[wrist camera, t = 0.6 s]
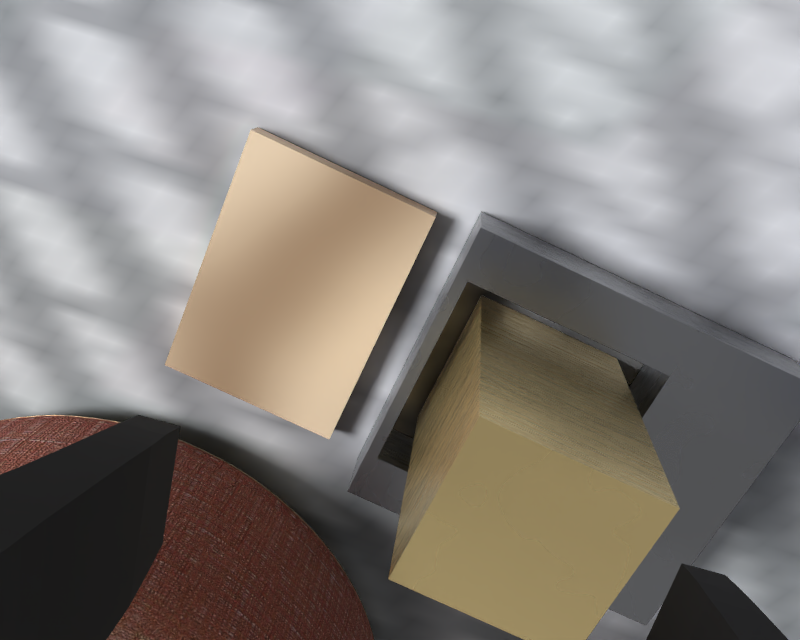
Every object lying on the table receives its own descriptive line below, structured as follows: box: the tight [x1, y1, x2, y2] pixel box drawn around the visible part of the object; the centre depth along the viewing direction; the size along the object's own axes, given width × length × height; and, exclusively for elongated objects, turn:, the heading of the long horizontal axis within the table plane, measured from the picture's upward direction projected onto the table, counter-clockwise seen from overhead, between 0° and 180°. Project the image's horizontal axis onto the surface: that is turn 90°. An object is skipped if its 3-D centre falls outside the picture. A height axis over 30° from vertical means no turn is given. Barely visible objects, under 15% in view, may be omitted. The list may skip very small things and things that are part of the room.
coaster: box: [165, 127, 437, 439], centre depth 20 cm, size 5×7×1 cm
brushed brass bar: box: [388, 295, 680, 640], centre depth 17 cm, size 4×4×7 cm
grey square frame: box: [348, 212, 800, 625], centre depth 20 cm, size 9×8×2 cm
